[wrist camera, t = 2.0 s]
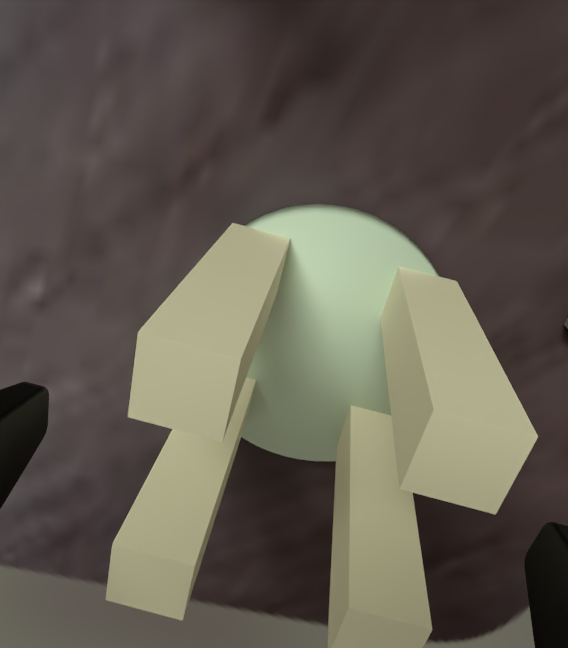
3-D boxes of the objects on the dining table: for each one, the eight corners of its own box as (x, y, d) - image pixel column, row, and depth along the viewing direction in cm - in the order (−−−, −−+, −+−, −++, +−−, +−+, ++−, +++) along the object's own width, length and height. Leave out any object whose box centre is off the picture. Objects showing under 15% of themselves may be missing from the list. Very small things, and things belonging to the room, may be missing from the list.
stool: (178, 401, 16) (59, 617, 10) (217, 172, 13) (83, 260, 7) (401, 460, 16) (433, 718, 10) (491, 243, 13) (628, 402, 7)
